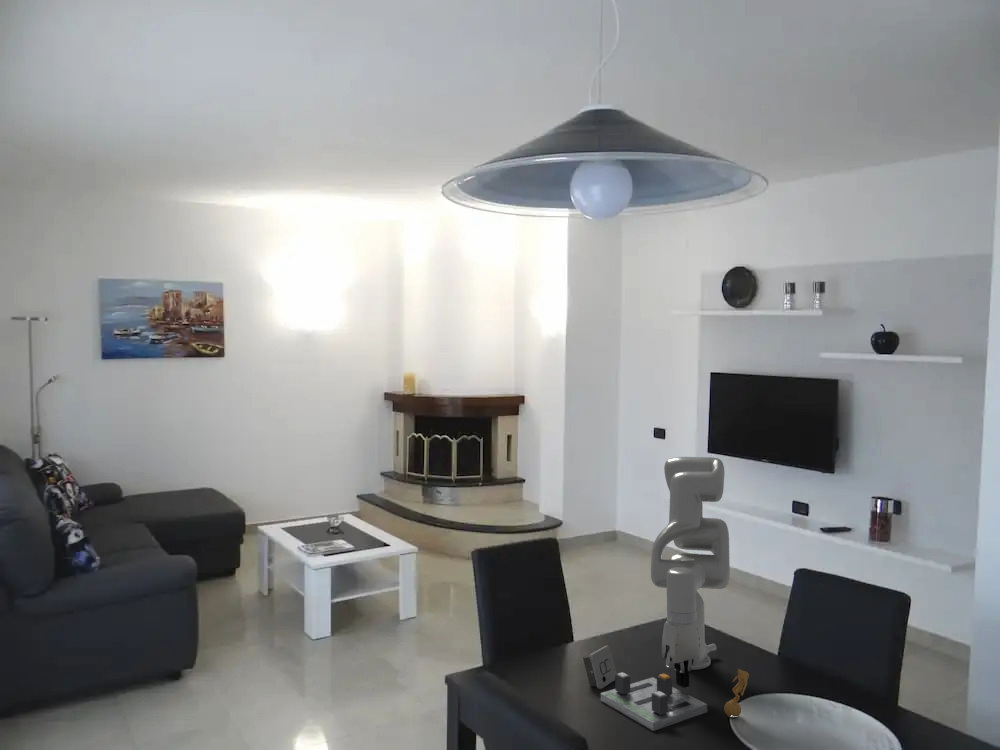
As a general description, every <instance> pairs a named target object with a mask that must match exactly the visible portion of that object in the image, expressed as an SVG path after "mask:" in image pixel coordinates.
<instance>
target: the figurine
mask: <svg viewBox="0 0 1000 750" xmlns="http://www.w3.org/2000/svg"><path fill="white" fill-rule="evenodd" d="M749 677H750V674H749V672H747V671H745V670H742V669H740V668H738V669H737V675H736V676H735V677H734V679H733V680H732V683H735V681H736V680H737V679H738V682H737V683H736V685H734V687H733V688H731V689H732V692H733V694H734V695H735V697H733V698H731V699H730V700H728V701H726V702H725V704H724V708H723V710H724V713H725V715H726V716H727V717H729V718H731V717H730V716H731V715H733V716H738V717H739V716H740V715H741V713H742V707H741V705H740V704H739V702H738V701H740V696H741V697H743V696H744V693H745V690H746V688H747V686H748V679H749ZM739 693H740V695H739Z"/></svg>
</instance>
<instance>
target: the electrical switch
mask: <svg viewBox="0 0 1000 750" xmlns="http://www.w3.org/2000/svg"><path fill="white" fill-rule="evenodd" d="M582 659H583V663H584V668H585V671H586V672H585V673H586V676H587V679H588V683H589V687H596V688H597V689H598V690H601V689H604V688H605V687H606V686H608V685H610V684H611V683H613V682H615V675H616V674H618V673H617V670H616V666H615V663H614V661H615V660H614V658H613V654H612V650H611V647H610V646H609V645H605V646H603V647H601V648H598V649H595V650H594V651H591V652H590V653H588V654H587V655H585V656H583V658H582Z"/></svg>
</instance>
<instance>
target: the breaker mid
mask: <svg viewBox="0 0 1000 750" xmlns="http://www.w3.org/2000/svg"><path fill="white" fill-rule="evenodd" d="M656 679H657V692H658V691H660V692H662V693H664V694H666V695H667V696H668V695H671V694H672V687H673V677H671V676H670V675H668V674H666V673H661V674H658V675H657V676H656Z"/></svg>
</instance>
